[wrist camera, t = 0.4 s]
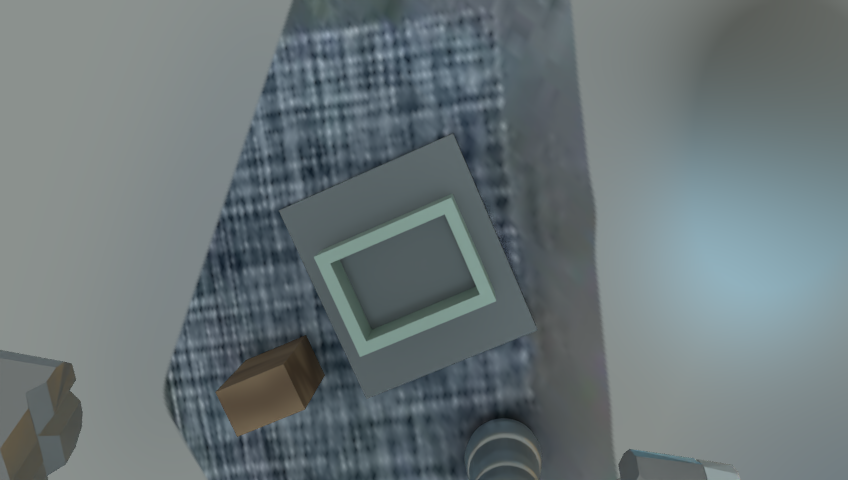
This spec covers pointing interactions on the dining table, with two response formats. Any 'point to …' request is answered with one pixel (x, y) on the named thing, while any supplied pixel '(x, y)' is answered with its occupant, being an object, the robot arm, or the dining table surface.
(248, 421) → the walnut block
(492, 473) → the plastic bottle
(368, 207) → the board
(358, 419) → the dining table surface
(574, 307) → the dining table surface
